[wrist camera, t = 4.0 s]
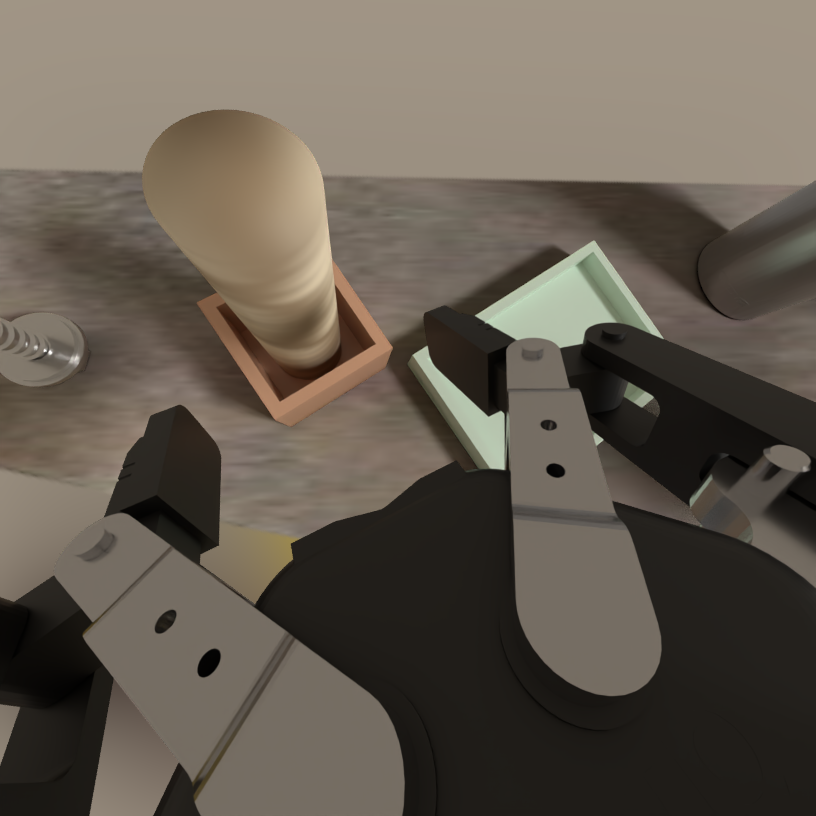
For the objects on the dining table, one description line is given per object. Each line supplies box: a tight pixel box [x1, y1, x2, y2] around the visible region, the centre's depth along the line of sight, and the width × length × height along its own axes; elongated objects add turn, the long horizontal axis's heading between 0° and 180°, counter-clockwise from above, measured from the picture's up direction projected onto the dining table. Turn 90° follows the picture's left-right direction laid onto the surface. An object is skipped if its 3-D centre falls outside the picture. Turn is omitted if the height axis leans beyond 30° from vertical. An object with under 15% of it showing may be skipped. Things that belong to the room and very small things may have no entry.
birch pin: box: [142, 110, 342, 380], centre depth 17 cm, size 5×5×15 cm
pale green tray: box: [407, 241, 664, 470], centre depth 27 cm, size 20×14×2 cm
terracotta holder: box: [197, 260, 393, 427], centre depth 22 cm, size 9×9×5 cm
